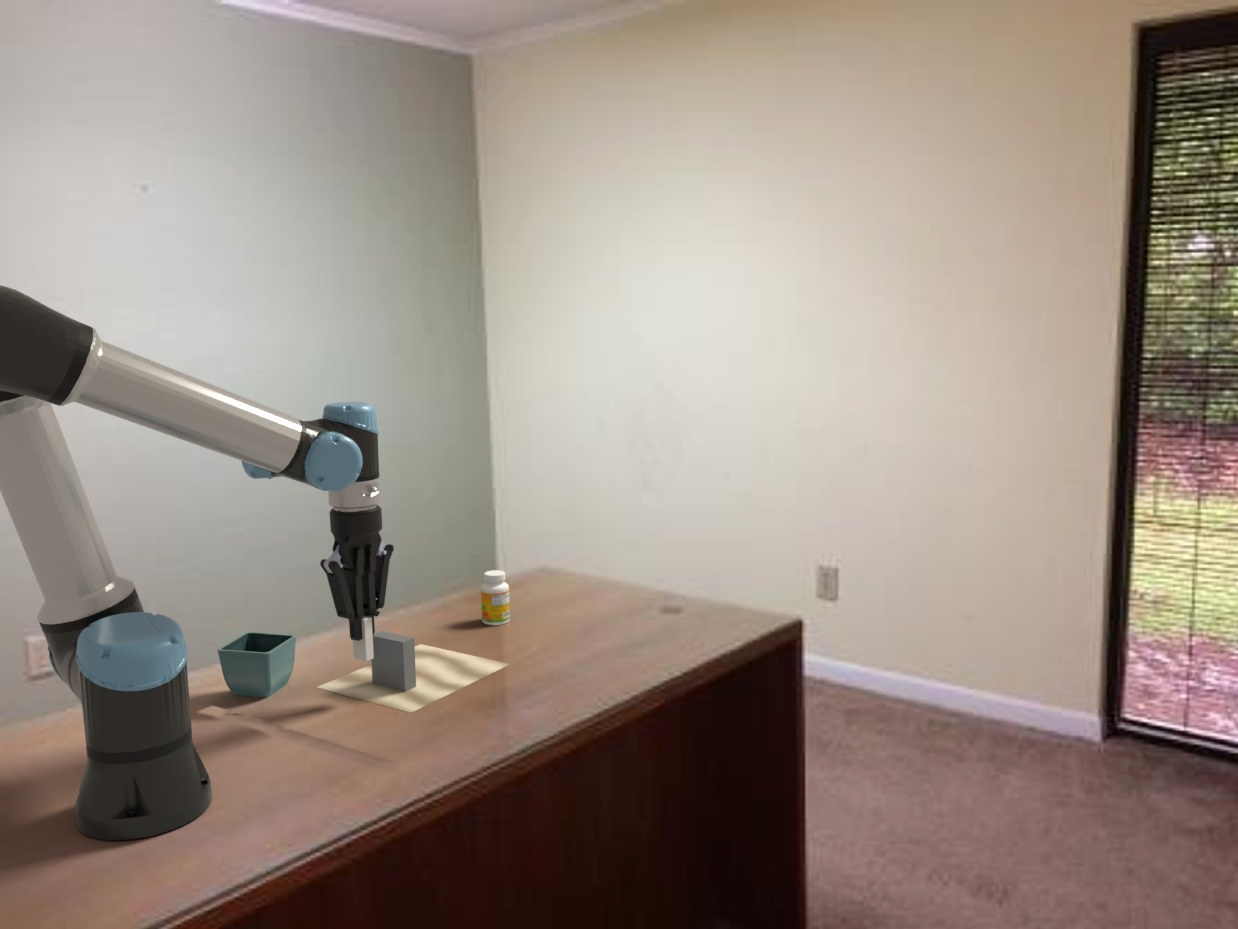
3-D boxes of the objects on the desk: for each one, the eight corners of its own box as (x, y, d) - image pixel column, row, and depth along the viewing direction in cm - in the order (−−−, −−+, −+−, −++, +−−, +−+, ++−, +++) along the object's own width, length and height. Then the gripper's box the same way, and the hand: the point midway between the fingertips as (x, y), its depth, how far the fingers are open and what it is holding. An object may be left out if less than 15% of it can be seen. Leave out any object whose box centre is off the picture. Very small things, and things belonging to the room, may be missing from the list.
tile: (405, 691, 161) (403, 642, 160) (372, 683, 165) (370, 635, 163) (417, 685, 163) (415, 637, 162) (385, 677, 167) (383, 630, 166)
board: (410, 720, 153) (410, 712, 153) (316, 694, 163) (316, 687, 163) (510, 670, 173) (510, 664, 173) (420, 650, 184) (420, 644, 183)
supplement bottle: (479, 619, 202) (478, 570, 200) (506, 616, 203) (505, 568, 202) (484, 627, 196) (483, 577, 195) (512, 624, 198) (511, 575, 197)
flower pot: (272, 709, 158) (268, 652, 156) (219, 705, 160) (215, 649, 158) (300, 688, 166) (297, 634, 165) (250, 684, 168) (247, 631, 167)
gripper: (340, 517, 146) (349, 676, 150) (404, 501, 157) (411, 649, 161) (303, 512, 150) (313, 667, 154) (369, 496, 161) (376, 641, 165)
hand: (363, 658), depth 158 cm, fingers closed
